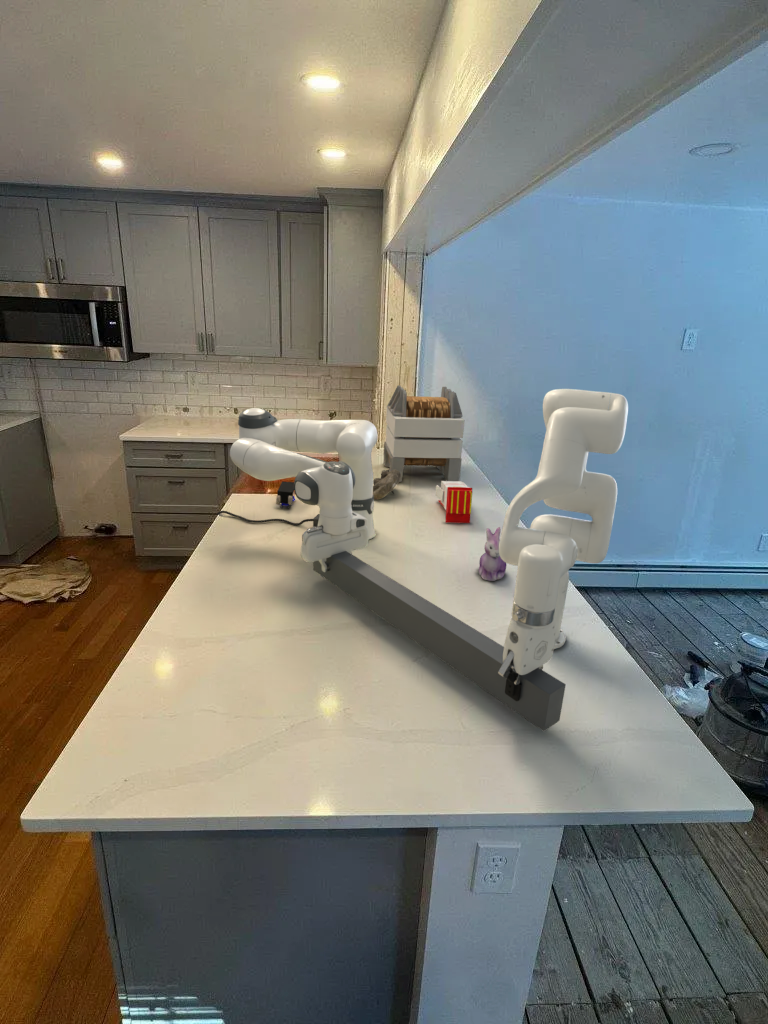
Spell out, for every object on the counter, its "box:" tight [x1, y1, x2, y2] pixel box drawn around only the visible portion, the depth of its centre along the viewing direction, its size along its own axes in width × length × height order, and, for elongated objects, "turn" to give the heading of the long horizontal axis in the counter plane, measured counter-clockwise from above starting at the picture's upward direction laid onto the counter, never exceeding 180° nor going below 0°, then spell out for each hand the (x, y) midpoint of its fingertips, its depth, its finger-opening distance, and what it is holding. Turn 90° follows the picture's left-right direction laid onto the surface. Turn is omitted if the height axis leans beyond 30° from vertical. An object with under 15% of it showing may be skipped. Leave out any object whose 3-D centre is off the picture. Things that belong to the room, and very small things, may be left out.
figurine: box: [478, 526, 507, 582], centre depth 169 cm, size 9×10×15 cm
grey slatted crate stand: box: [383, 384, 465, 483], centre depth 268 cm, size 34×33×41 cm
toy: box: [435, 480, 473, 524], centre depth 223 cm, size 12×13×30 cm
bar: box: [312, 551, 566, 732], centre depth 134 cm, size 80×5×8 cm, turn 39°
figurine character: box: [275, 480, 296, 509], centre depth 223 cm, size 7×8×15 cm
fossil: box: [373, 469, 401, 501], centre depth 241 cm, size 22×10×15 cm
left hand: (335, 568), depth 158 cm, fingers closed on bar, 5 cm apart
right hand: (521, 690), depth 111 cm, fingers closed on bar, 4 cm apart
